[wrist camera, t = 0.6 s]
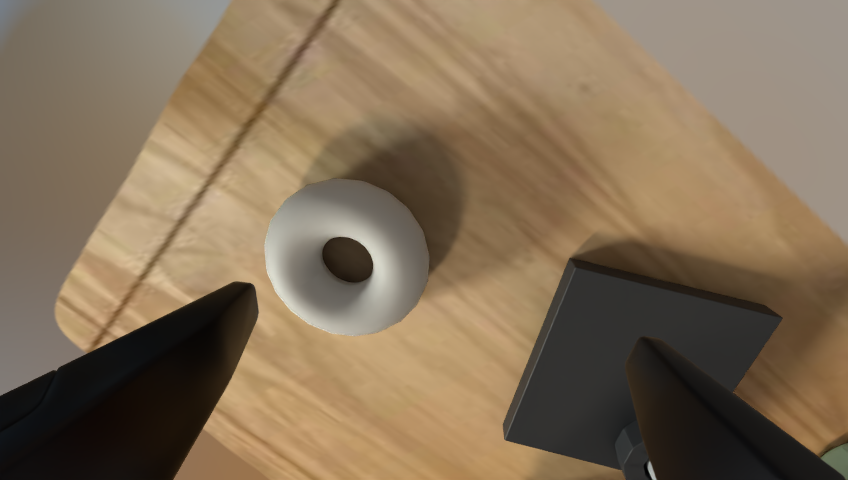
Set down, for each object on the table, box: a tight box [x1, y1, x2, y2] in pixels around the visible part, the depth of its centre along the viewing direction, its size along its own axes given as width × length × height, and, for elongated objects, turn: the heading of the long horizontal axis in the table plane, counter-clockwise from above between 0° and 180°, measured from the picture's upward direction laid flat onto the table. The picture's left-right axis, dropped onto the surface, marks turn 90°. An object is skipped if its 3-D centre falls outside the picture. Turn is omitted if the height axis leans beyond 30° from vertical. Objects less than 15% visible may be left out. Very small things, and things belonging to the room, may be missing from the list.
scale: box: [503, 258, 783, 480], centre depth 24 cm, size 14×13×3 cm
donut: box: [265, 178, 430, 336], centre depth 23 cm, size 10×4×10 cm
